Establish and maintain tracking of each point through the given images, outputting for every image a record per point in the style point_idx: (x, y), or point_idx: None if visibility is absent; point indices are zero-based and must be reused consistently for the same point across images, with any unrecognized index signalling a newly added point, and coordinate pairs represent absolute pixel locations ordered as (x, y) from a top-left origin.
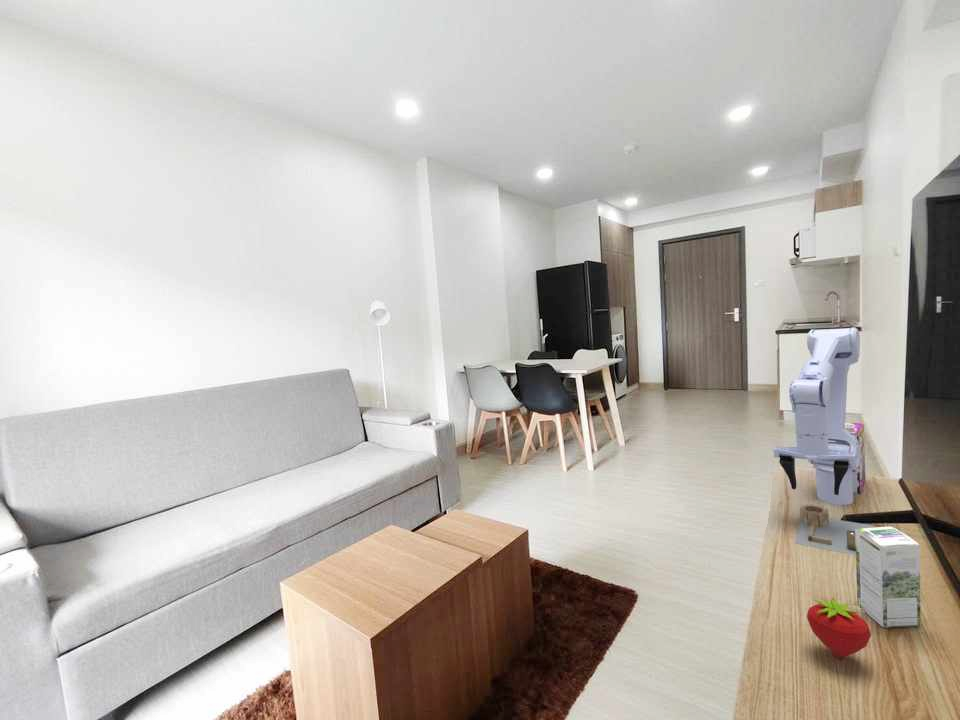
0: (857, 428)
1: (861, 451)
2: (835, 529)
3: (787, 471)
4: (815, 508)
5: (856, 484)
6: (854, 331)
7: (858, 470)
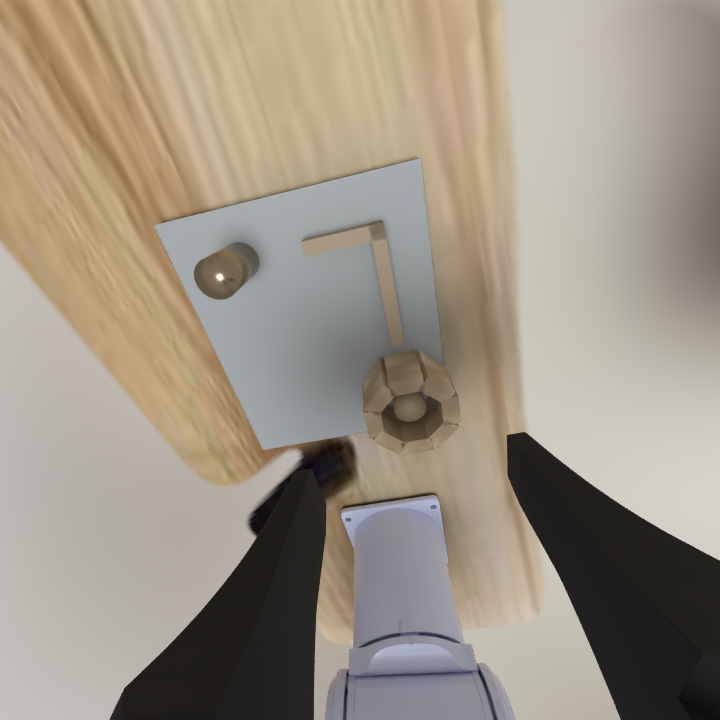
0: None
1: None
2: (336, 370)
3: (650, 538)
4: (412, 435)
5: None
6: None
7: None
